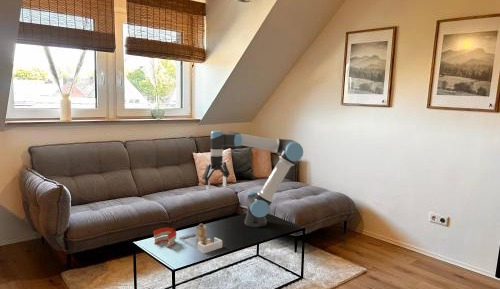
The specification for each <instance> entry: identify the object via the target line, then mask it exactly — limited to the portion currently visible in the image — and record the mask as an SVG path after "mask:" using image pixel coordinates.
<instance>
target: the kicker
mask: <svg viewBox="0 0 500 289" xmlns="http://www.w3.org/2000/svg"><path fill="white" fill-rule="evenodd" d="M196 234H197V236H196V244H197V243H200V244H202V245H204V246H205V245H206V244H207V243H208V242H212V241H211V238H207V226H206V225H204V223H199V225H197V226H196Z"/></svg>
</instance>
